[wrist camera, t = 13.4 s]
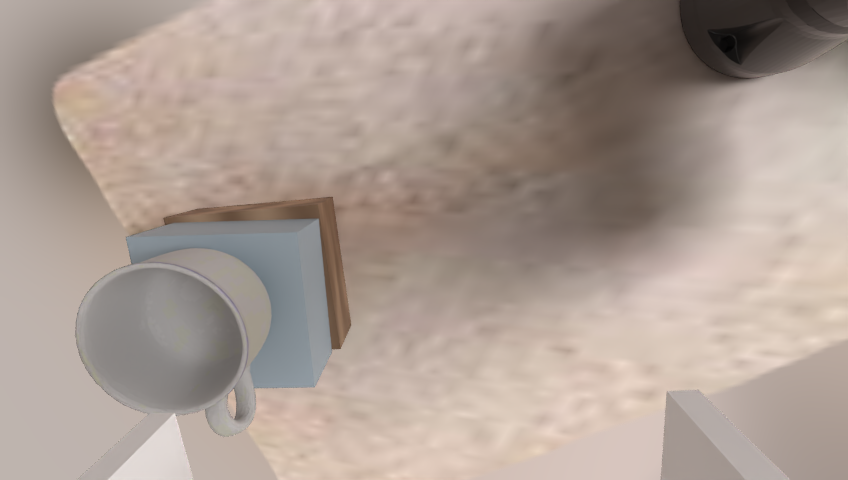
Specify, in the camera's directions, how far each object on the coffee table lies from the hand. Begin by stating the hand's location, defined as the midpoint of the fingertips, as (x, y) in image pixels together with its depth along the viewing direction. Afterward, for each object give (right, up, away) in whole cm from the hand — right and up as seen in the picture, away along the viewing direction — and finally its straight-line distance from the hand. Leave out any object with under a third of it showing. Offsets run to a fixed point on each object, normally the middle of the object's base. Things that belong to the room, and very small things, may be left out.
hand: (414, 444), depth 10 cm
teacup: (-16, -1, +23) cm, 28 cm away
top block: (-16, +1, +28) cm, 33 cm away
